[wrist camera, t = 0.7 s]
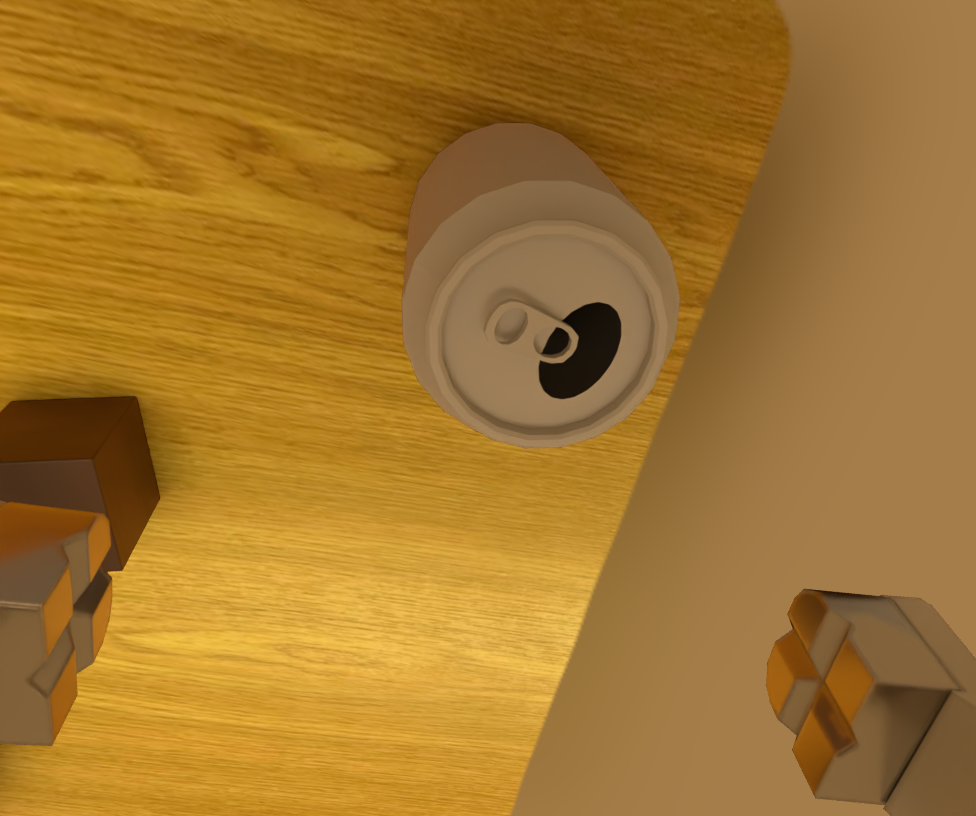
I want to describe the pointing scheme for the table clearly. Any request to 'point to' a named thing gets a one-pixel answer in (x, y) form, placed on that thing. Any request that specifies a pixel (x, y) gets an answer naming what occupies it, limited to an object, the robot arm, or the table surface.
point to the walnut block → (81, 463)
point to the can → (533, 290)
